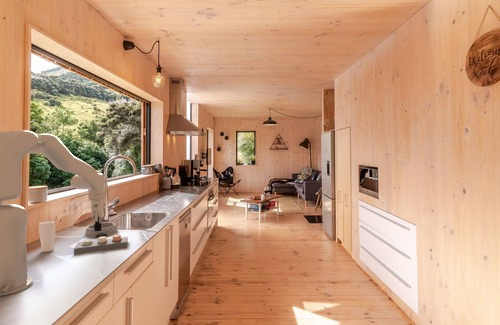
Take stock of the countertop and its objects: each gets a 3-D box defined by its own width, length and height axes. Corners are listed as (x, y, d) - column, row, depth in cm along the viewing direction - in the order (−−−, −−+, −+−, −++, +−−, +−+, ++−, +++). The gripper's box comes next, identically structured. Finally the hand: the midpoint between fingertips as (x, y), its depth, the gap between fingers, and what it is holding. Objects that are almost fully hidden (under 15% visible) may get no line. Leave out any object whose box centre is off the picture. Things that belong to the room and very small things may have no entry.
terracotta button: (120, 242, 143) (120, 236, 143) (112, 243, 142) (112, 237, 142) (121, 239, 147) (121, 234, 147) (113, 240, 145) (113, 235, 145)
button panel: (126, 247, 142) (126, 241, 142) (74, 254, 133) (73, 248, 132) (127, 241, 151) (127, 236, 151) (78, 248, 142) (78, 242, 142)
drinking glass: (47, 253, 134) (46, 224, 134) (36, 252, 136) (35, 223, 135) (59, 248, 141) (58, 221, 141) (48, 248, 142) (47, 220, 142)
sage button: (91, 247, 138) (90, 241, 138) (82, 248, 136) (81, 243, 136) (92, 245, 142) (92, 239, 142) (83, 246, 140) (83, 240, 140)
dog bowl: (118, 234, 166) (117, 226, 166) (83, 239, 157) (83, 230, 157) (117, 228, 181) (116, 220, 180) (85, 232, 172) (85, 224, 172)
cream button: (106, 243, 141) (106, 238, 140) (97, 245, 139) (97, 239, 139) (107, 241, 144) (106, 236, 144) (98, 242, 143) (98, 237, 143)
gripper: (103, 198, 135) (104, 233, 136) (106, 194, 149) (107, 226, 149) (86, 199, 132) (87, 235, 133) (90, 195, 146) (91, 228, 146)
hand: (98, 230), depth 141 cm, fingers closed
